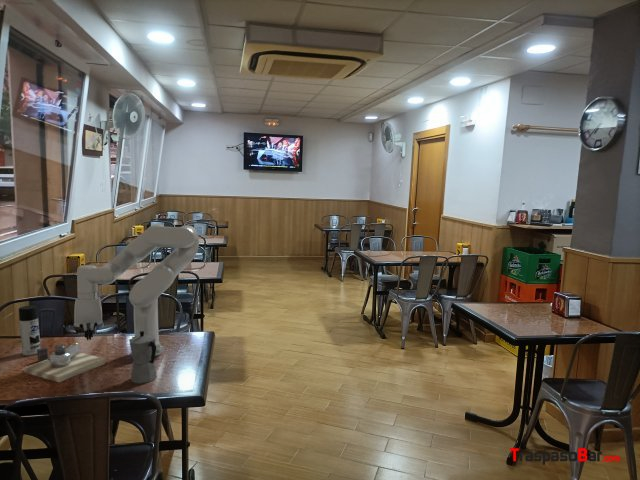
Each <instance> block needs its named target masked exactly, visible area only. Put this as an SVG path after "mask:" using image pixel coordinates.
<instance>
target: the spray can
mask: <svg viewBox="0 0 640 480" xmlns="http://www.w3.org/2000/svg"><path fill="white" fill-rule="evenodd" d="M18 317H19V318H18V319H19V328H20V329H19V330H20V341H21V342H20V343H21V352H22V353H21V354H22V355H23V356H28V357H29V356H34V355H37V349H41V348H42V347H41V339H40V327H39V325H40V324H39V315H38V306H37V305H26V306H22V307H21V306H20V307H19V308H18Z"/></svg>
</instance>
